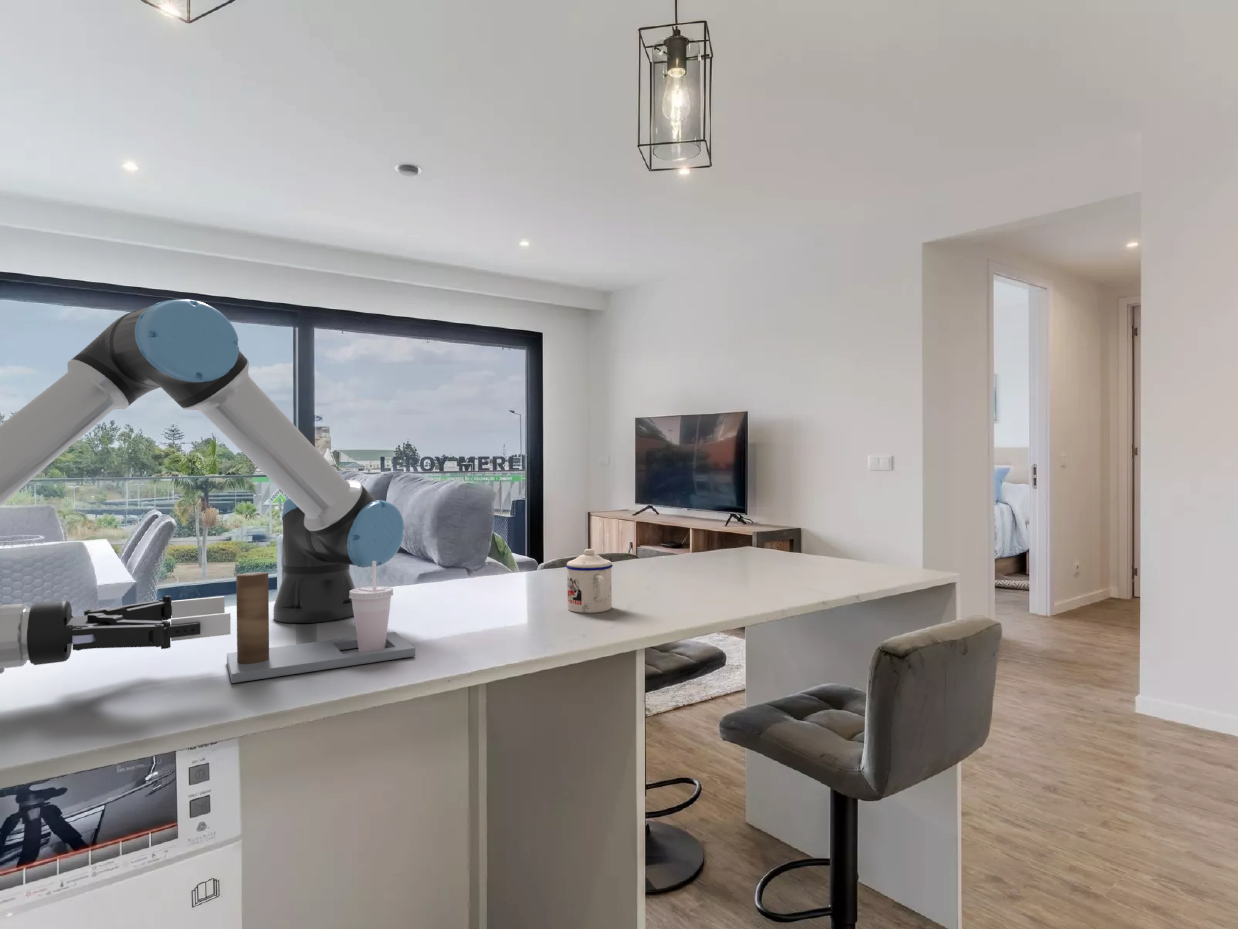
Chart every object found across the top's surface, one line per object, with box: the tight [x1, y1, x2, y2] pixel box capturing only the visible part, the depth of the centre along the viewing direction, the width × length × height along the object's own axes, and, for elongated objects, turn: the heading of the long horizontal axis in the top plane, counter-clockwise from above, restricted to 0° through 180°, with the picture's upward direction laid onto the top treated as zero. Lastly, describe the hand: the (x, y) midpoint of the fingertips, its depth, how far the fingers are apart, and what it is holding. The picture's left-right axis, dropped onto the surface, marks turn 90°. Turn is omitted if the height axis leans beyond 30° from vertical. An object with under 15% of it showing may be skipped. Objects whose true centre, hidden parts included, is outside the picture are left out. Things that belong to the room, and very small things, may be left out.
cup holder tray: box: [226, 571, 416, 684], centre depth 105 cm, size 12×24×13 cm, turn 121°
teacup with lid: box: [565, 548, 613, 614], centre depth 139 cm, size 12×9×12 cm
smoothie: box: [349, 561, 394, 652], centre depth 109 cm, size 6×6×14 cm
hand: (227, 614), depth 99 cm, fingers open, 13 cm apart
